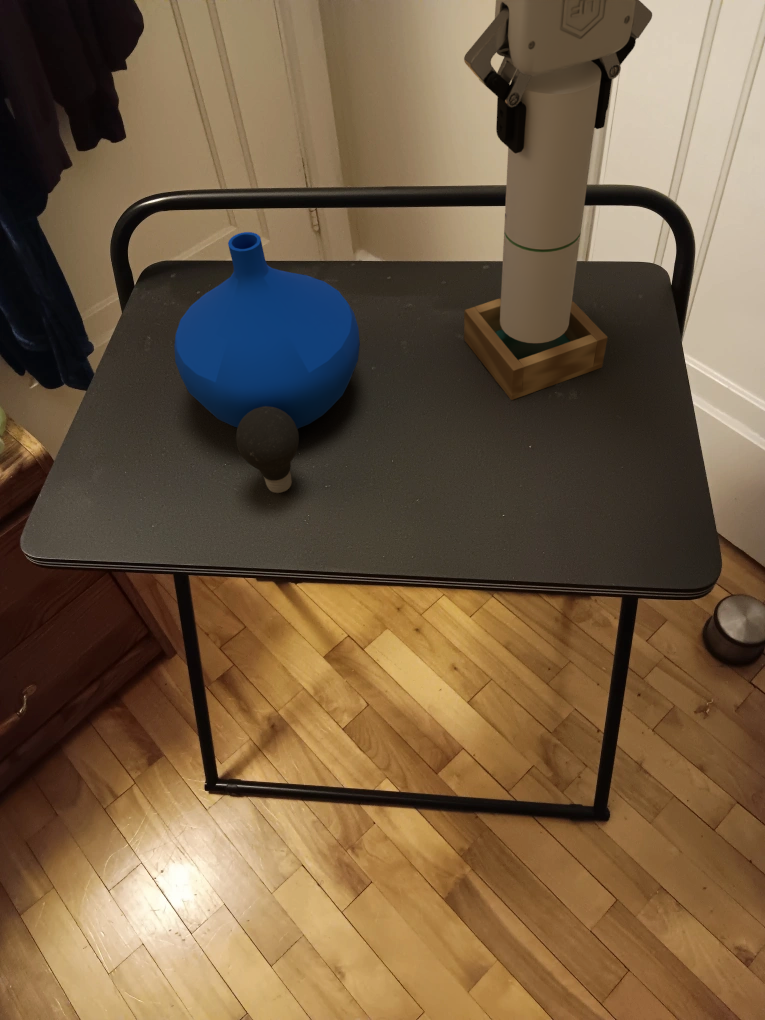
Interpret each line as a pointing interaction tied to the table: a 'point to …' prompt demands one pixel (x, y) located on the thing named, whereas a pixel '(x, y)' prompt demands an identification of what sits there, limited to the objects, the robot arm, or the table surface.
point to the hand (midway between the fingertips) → (551, 132)
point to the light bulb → (269, 444)
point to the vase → (267, 341)
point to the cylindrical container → (547, 202)
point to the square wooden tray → (533, 350)
